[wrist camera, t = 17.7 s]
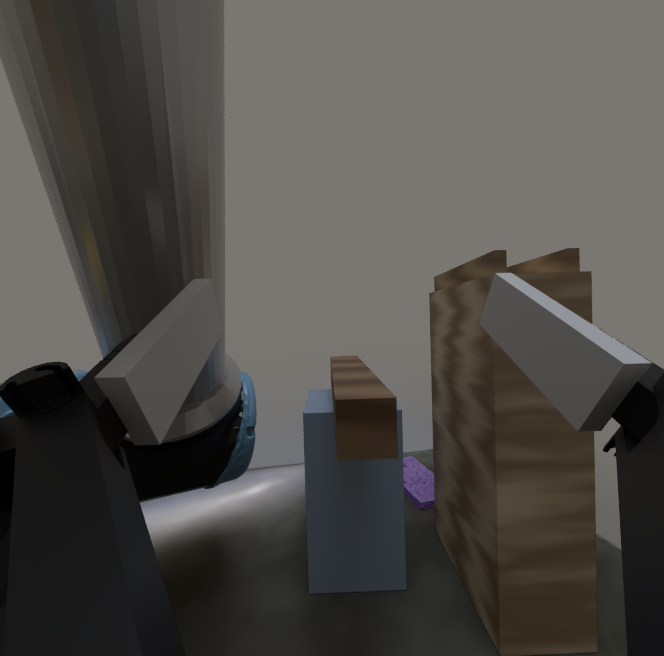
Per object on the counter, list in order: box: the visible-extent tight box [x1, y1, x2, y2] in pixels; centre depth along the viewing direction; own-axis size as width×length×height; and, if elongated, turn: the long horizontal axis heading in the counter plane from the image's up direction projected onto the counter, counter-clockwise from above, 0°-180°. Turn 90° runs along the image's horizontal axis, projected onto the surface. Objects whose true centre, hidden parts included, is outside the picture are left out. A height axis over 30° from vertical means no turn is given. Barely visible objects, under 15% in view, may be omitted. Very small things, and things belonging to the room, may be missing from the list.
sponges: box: [403, 456, 435, 510], centre depth 48 cm, size 7×13×2 cm, turn 18°
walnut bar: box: [331, 356, 398, 461], centre depth 30 cm, size 24×4×4 cm, turn 1°
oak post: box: [429, 248, 598, 656], centre depth 30 cm, size 14×8×33 cm, turn 1°
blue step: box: [303, 389, 407, 594], centre depth 34 cm, size 10×10×18 cm
